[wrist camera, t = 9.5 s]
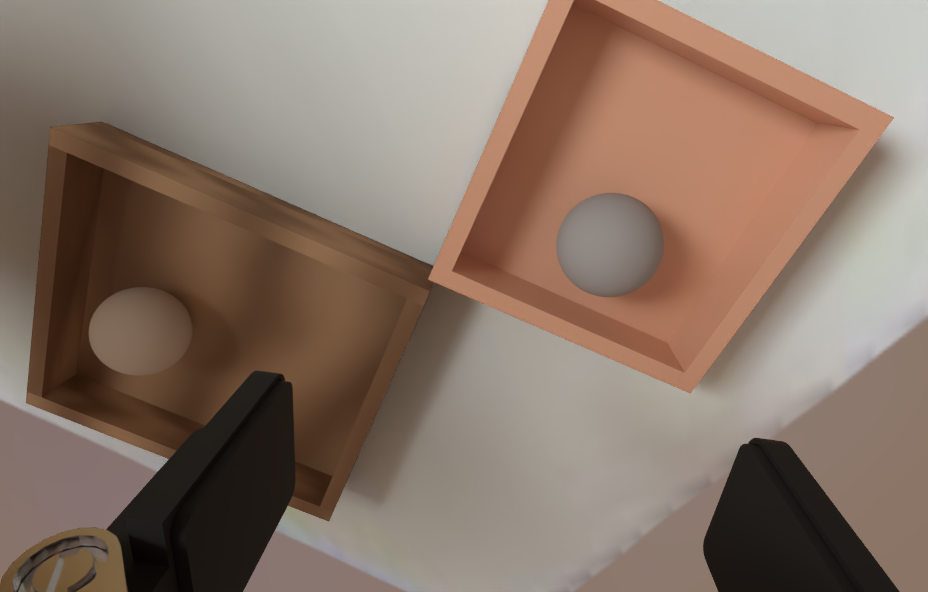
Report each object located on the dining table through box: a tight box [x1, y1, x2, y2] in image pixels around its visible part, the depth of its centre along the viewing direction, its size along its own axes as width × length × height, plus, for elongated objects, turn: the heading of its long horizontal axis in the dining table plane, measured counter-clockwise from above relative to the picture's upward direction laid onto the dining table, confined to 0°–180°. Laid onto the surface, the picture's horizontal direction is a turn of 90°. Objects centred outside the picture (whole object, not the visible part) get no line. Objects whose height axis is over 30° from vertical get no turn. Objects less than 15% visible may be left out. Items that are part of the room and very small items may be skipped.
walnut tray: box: [26, 122, 434, 521], centre depth 27 cm, size 18×16×3 cm
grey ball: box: [556, 193, 664, 297], centre depth 22 cm, size 4×4×4 cm
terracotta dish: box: [428, 0, 894, 393], centre depth 22 cm, size 13×13×4 cm
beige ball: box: [89, 287, 193, 376], centre depth 26 cm, size 4×4×4 cm
